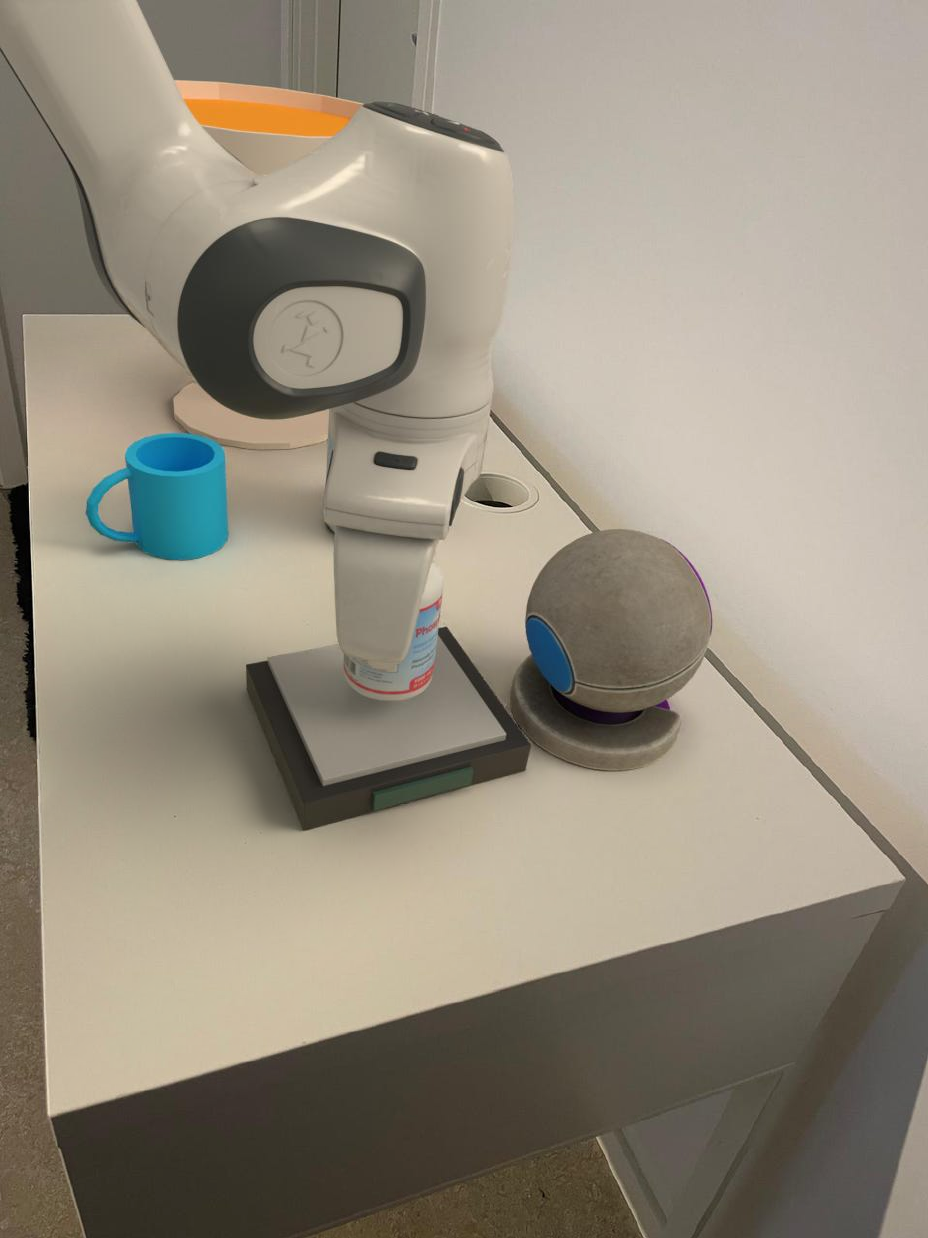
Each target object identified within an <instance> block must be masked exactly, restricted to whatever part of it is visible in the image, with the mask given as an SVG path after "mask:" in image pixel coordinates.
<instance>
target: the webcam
mask: <svg viewBox="0 0 928 1238" xmlns="http://www.w3.org/2000/svg"><path fill="white" fill-rule="evenodd" d="M712 611H713V610H712V606H711V600H710V598H709V594H708V591H707V588H706V585H705V583H704V581H703V579H702V577H701V576H700V574H699V572H698V571H697V569H696V568H695V567H694V564H692V561H690V560H689V559H688V557H687V556H685V554H683V553H682V552H681V551H680V550H679V549H677V547H675V546H674V545H672V544H671V543H670V542H668V541H666V540H664V539H662V538H659V537H657V536H654V535H651V534H648V533H645V532H644V531H640V530H633V529H624V528H615V529H614V528H613V529H611V528H610V529H605V530H598V531H594V532H592V533H588V534H585V535H582V536H580V537H579V538H576V539H575V540H573V541H571V542H570V543H568V544H566V545H564V546H563V547H562V548H561V549H559V550H558V551H556V553H554V555H552V557H551V558H549V560H548V561H547V562H546V563H545V565H544V566H543V567H542V569H541V570H540V571H539V573H538V574H537V577H536V578H535V580H534V582H533V584H532V587H531V590H530V591H529V595H528V598H527V602H526V609H525V618H524V628H525V636H526V641H527V645H528V649H529V651H530V654H529V655H528V656H527V657H526V658H525V659H524V660H523V661H522V662H521V663H520V664H519V666H518V668H517V670H516V671H515V674H514V677H513V680H512V683H511V688H510V693H509V703H510V709H511V712H512V714H513V717H514V719H515V721H516V724H518V727H520V730H521V731H522V732H523V733H524V734H525V735H526V736H527V737H528V738H529V739H530V740H532V741H533V742H534V743H535V744H536V745H537V746H539V747H540V748H542V749H543V750H544V751H546V752H547V753H549V754H551V755H553V756H555V757H557V758H559V759H562V760H564V761H566V762H568V763H570V764H571V763H572V764H574V765H578V766H580V767H585V768H587V769H594V770H602V771H603V770H604V771H624V770H625V771H626V770H634V769H637V768H643V767H645V766H648V765H651V764H654V763H655V762H657V761H659V760H660V759H661V758H663V757H664V756H665V755H667V754H668V753H669V751H670V750H671V749H672V748H673V746H674V744H675V743H676V741H677V738H678V735H679V733H680V728H681V725H682V720H683V719H682V714H681V713H680V712H677V711H675V710H671V708H670V704H669V701H668V700H669V699H671V698H672V697H673V696H674V695H675V694H677V693H679V692H680V691H681V690H682V689H683V688H684V687H686V685H687V684H688V683H689V682H690V681H691V680H692V679H693V678H694V676H695V674H696V673H697V671H698V670H699V668H700V667H701V664H702V663H703V660H704V658H705V656H706V653H707V649H708V646H709V643H710V638H711V636H712V631H713V612H712Z"/></svg>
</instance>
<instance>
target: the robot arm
mask: <svg viewBox="0 0 928 1238" xmlns="http://www.w3.org/2000/svg"><path fill="white" fill-rule="evenodd" d="M143 13H144V12H143V11H142V9H141V7H140V4H139V2H138V1H137V0H0V52H1V54H2V56H3V58H4V59H5V61H6V63H7V64H8V66H9V67H10V69H11V71H12V72H13V74H14V75H15V77H16V79H17V80H18V82H19V84H20V85H21V87H22V88H23V90H24V92H25V93H26V95H27V97H28V98H29V100H30V101H31V103H32V105H33V106H34V108H35V110H36V111H37V113H38V114H39V117H40V118H41V119H42V121H43V123H44V124H45V126H46V128H47V129H48V131H49V132H50V134H51V136H52V138H53V139H54V141H55V142H56V144H57V145H58V148H59V149H60V151H61V153H62V154H63V156H64V158H65V160H66V162H67V164H68V166H69V169H70V171H71V174H72V176H73V177H72V178H73V179H74V183H75V186H76V190H77V194H78V195H77V196H78V199H79V203H80V209H81V214H82V219H83V225H84V232H85V236H86V241H87V245H88V249H89V253H90V257H91V260H92V263H93V267H94V268H95V272H96V273H97V276H98V277H99V280H100V282H101V284H102V285H103V287H104V289H105V290H106V292H107V293H108V294H109V296H110V297H111V299H112V300H114V302H115V303H116V304H117V306H118V307H119V308H120V309H122V310H123V311H124V312H125V314H127V315H128V316H129V317H131V318H132V319H133V320H134V321H136V322H137V323H138V324H140V325H141V326H142V327H143V328H145V329H146V330H147V331H148V333H150V335H151V336H152V337H153V338H154V339H155V340H156V341H157V342H158V344H159V345H160V346H161V347H162V348H163V349H164V350H165V352H166V353H167V354H168V355H169V356H170V357H172V359H173V360H174V361H175V362H176V363H177V364H178V365H179V366H180V367H181V368H182V369H183V370H184V371H185V373H186V374H187V375H188V376H189V377H190V378H191V379H192V380H193V381H194V382H196V383H197V384H198V385H199V386H200V387H201V388H202V389H203V390H204V391H205V392H206V393H207V394H209V395H210V396H211V397H212V398H213V399H214V400H216V401H217V402H219V403H220V404H222V405H223V406H225V407H226V408H228V409H230V410H232V411H234V412H237V413H239V414H242V415H245V416H249V417H253V418H258V419H268V420H279V419H288V418H294V417H299V416H303V415H308V414H312V413H316V412H320V411H324V410H327V409H331V420H330V446H329V457H330V464H329V469H328V473H327V477H326V476H325V485H324V491H323V500H322V501H323V502H322V503H323V504H322V505H323V506H322V517H323V521H324V522H325V523H326V524H327V523H328V524H332V525H336V528H335V534H334V535H333V537H334V538H333V588H334V589H333V590H334V610H335V613H334V614H335V629H336V638H337V644H339V646H340V648H341V650H342V652H343V653H344V654H345V655H346V656H348V657H351V658H355V659H361V660H367V663H368V665H369V666H370V667H372V668H375V669H382V670H393V669H395V667H396V664H398V663H401V662H402V661H404V659H405V658H406V656H407V654H408V651H409V648H410V645H411V642H412V638H413V635H414V631H415V627H416V623H417V619H418V615H419V611H420V607H421V603H422V599H423V595H424V591H425V587H426V583H427V579H428V575H429V571H430V567H431V564H432V560H433V557H434V553H435V550H436V551H437V547H438V544H439V541H443V540H446V539H447V537H448V535H449V531H450V527H451V526H453V522H454V518H455V515H456V512H457V509H458V508H459V505H460V503H461V501H462V500H463V498H464V497H465V495H466V494H467V493H468V491H469V489H470V487H471V485H473V484H474V483H475V481H477V480H478V478H480V476H481V473H482V472H483V471H482V470H483V464H484V457H485V450H486V444H487V437H488V431H489V423H490V418H491V417H490V416H491V409H492V402H493V397H494V396H493V394H494V378H493V373H492V371H493V370H492V365H491V357H492V351H493V347H494V342H495V339H496V337H497V334H498V333H499V330H500V329H501V326H502V324H503V320H504V317H505V312H506V305H507V297H508V291H509V283H510V274H511V267H512V266H511V265H512V259H513V258H512V257H513V246H514V245H513V244H514V233H515V232H514V231H515V190H514V189H515V186H514V185H515V184H514V177H513V171H512V167H511V166H512V165H511V162H510V160H509V156H508V154H507V152H506V151H505V150H504V149H503V148H502V147H501V145H500V143H499V142H498V141H497V140H496V139H495V138H493V137H492V136H491V135H489V134H488V133H485V132H484V131H482V130H479V129H477V128H474V127H471V126H468V125H466V124H463V123H461V122H458V121H454V120H451V119H448V118H445V117H442V116H440V115H438V114H435V113H432V112H429V111H425V110H422V109H420V108H419V109H418V108H416V107H413V106H410V105H409V106H408V105H405V104H401V103H397V102H390V101H373V102H369V103H363V105H361V106H360V107H359V108H358V109H357V111H356V113H355V114H354V116H353V117H352V119H351V120H350V121H349V123H348V124H347V125H346V126H345V127H344V128H342V129H341V130H340V131H339V132H338V133H336V134H335V135H334V136H332V137H331V138H330V139H329V140H327V141H326V142H325V143H323V144H322V145H321V146H319V147H318V148H316V149H315V150H313V151H311V152H310V153H308V154H306V155H305V156H303V157H301V158H299V159H298V160H296V161H294V162H292V163H290V164H288V165H286V166H284V167H282V168H280V169H277V170H275V171H272V172H270V173H267V174H264V175H261V176H259V175H257V174H256V173H254V172H253V171H251V170H250V169H249V168H248V167H247V166H246V165H244V164H243V163H242V162H241V161H240V160H238V159H237V158H236V157H235V156H234V155H232V154H231V153H230V152H229V151H227V150H226V149H225V148H224V147H223V146H221V145H220V144H219V143H218V142H217V141H216V140H215V139H214V138H212V137H211V136H210V135H209V134H208V133H207V132H206V131H205V130H204V128H203V127H202V126H201V125H200V124H199V123H198V121H197V120H196V119H195V117H194V116H193V115H192V113H191V112H190V110H189V109H188V107H187V105H186V104H185V102H184V100H183V98H182V96H181V94H180V92H179V90H178V87H177V85H176V83H175V81H174V80H175V78H174V77H173V75H172V72H171V71H170V68H169V67H168V64H167V62H166V60H165V58H164V56H163V53H162V51H161V49H160V47H159V45H158V43H157V41H156V39H155V36H154V34H153V32H152V30H151V28H150V26H149V24H148V21H147V19H146V17H145V16H144V14H143ZM328 524H327V525H328Z"/></svg>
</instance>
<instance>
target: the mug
mask: <svg viewBox="0 0 928 1238" xmlns="http://www.w3.org/2000/svg"><path fill="white" fill-rule="evenodd" d="M124 460H125V468H124V467H123V468H121V469H118V470H116V471H114V472H112V473H111V474H109V475H107V476H105V477H104V478H103V479H101V480H100V482H98V483H97V484H96V485H95V486H94V487H93V488H92V490H91V492H90V494H89V495H88V497H87V499H86V505H85V516H86V518H87V520H88V523H89V525H90V527H92V529H94V530H95V531H96V532H97V533H98V534H99V536H100V535H101V536H103V537H104V538H107V539H109V540H112V541H115V542H122V543H135V544H136V546H137V547H138V548H139V549H140V550H141V551H142V552H144V553H145V554H148V555H150V556H152V557H154V558H159V559H164V560H169V561H188V560H194V559H201V558H204V557H207V556H210V555H213V554H214V553H215V552H217V551H219V550H221V549H222V548H223V547H224V546H225V545H226V543H227V542H228V540H229V539H228V538H229V516H228V515H229V514H228V513H229V512H228V493H227V492H228V491H227V467H226V466H227V465H226V452H225V450H224V448H223V446H222V445H221V444H218V443H216V442H215V441H214V440H211V439H208V438H206V437H203V436H199V435H194V434H191V433H189V432H188V433H186V432H168V433H167V432H166V433H157V434H153V435H149V436H144V437H143V438H140V439H138V440H136V441H134V442H132V443H131V444H130V445H129V446H128V447H127V448H126V451H125V454H124ZM125 480H127V487H128V495H129V503H130V513H131V521H132V530H133V531H122V530H116V529H114V528H111V527H109V526H107V524H105V522H103V521H102V520H101V517H100V515H99V507H100V503H101V501H102V499H103V497H104V495H105V494H106V493H107V492H109V491H110V490H111V489H112V488H113V487H114V486H116V485H117V484H119V483H121V482H123V481H125Z"/></svg>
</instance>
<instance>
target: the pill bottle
mask: <svg viewBox="0 0 928 1238" xmlns="http://www.w3.org/2000/svg"><path fill="white" fill-rule="evenodd" d="M436 557H437V549H436V550H435V553H434V557H433V560H432V564H431V567H430V571H429V575H428V579H427V583H426V587H425V591H424V595H423V599H422V603H421V607H420V611H419V615H418V619H417V623H416V627H415V631H414V635H413V638H412V642H411V645H410V648H409V651H408V654H407V656H406V658H405V659H404V661H402V662H401V663H398V664H396V667H395V669H393V670H382V669H375V668H372V667H370V666H369V665H368V663H367V660H361V659H355V658H351V657H348V656H346V655H345V654H344V666H343V670H344V675H345V678H346V680H347V682H348V683H349V685H350V686H351V687H352V688H353V689H354V690H355V691H357V692H358V693H360V694H362V695H364V696H366V697H369V698H372V699H377V700H386V701H399V700H405V699H409V698H413V697H415V696H417V695H419V694H420V693H422V692H423V691H424V690H425V689H426V688H427V687H428V685H429V684H430V682H431V679H432V676H433V669H434V662H435V653H436V645H437V636H438V628H440V619H441V608H442V603H443V600H442V599H443V594H444V592H443V591H444V577H443V573H442V571H441V569H440V567H439V566H438V564H437V562H435V559H436Z"/></svg>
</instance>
